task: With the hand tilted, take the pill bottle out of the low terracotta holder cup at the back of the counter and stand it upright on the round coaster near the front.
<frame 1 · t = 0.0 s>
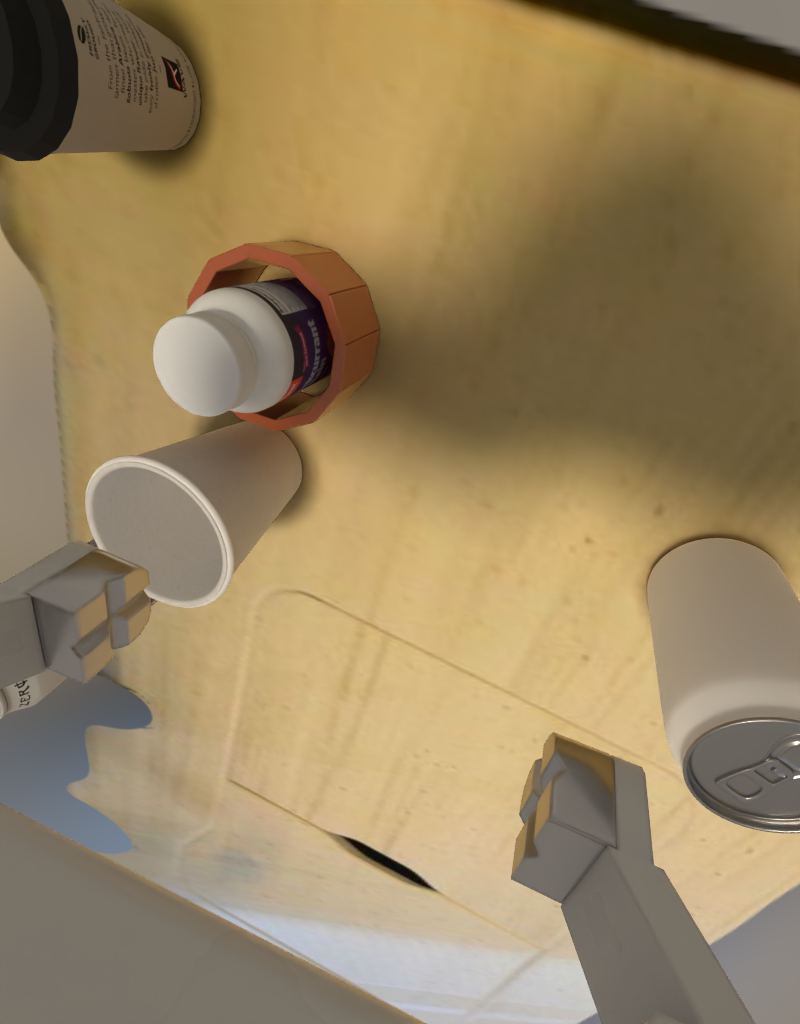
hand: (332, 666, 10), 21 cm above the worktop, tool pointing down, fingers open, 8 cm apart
pill bottle: (307, 328, 30), resting in holder cup
energy drink can: (162, 544, 41), on the worktop
dixie cup: (264, 461, 35), on the worktop
coffee cup: (163, 95, 27), on the worktop
can: (711, 584, 29), on the worktop
holder cup: (306, 329, 30), on the worktop
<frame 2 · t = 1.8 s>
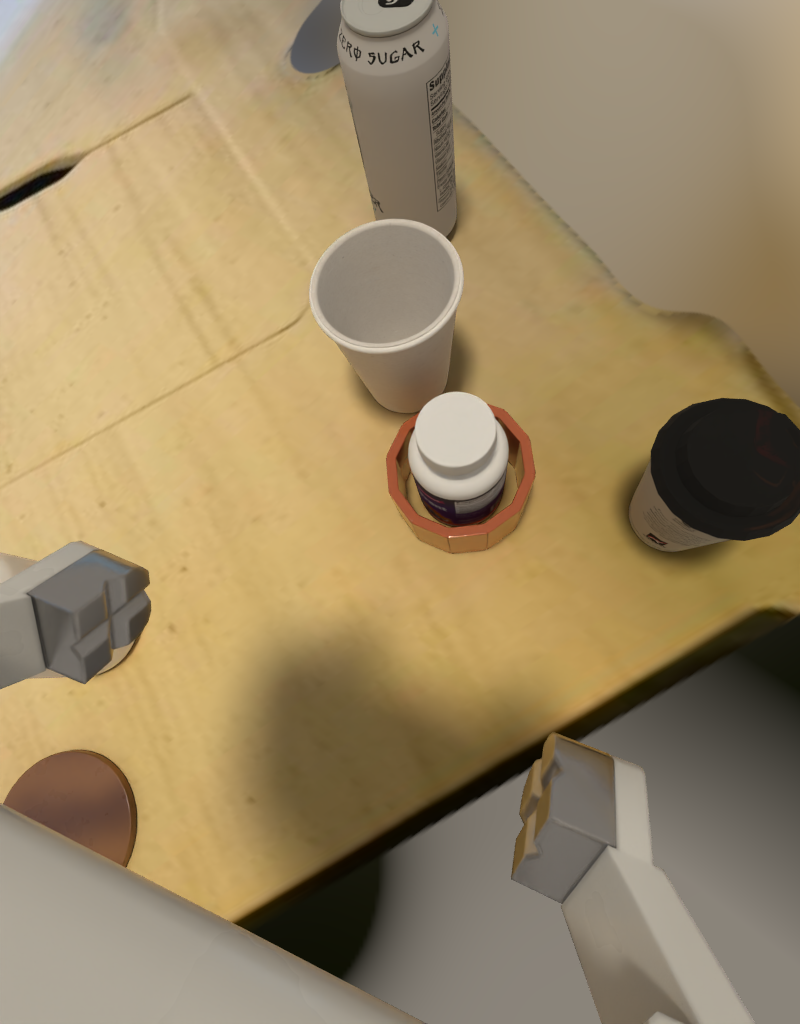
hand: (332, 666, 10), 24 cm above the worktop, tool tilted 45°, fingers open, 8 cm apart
coaster: (68, 829, 33), on the worktop
pill bottle: (461, 490, 36), resting in holder cup
energy drink can: (418, 228, 42), on the worktop
dixie cup: (408, 378, 38), on the worktop
coffee cup: (666, 516, 33), on the worktop
can: (100, 626, 36), on the worktop
holder cup: (461, 489, 35), on the worktop
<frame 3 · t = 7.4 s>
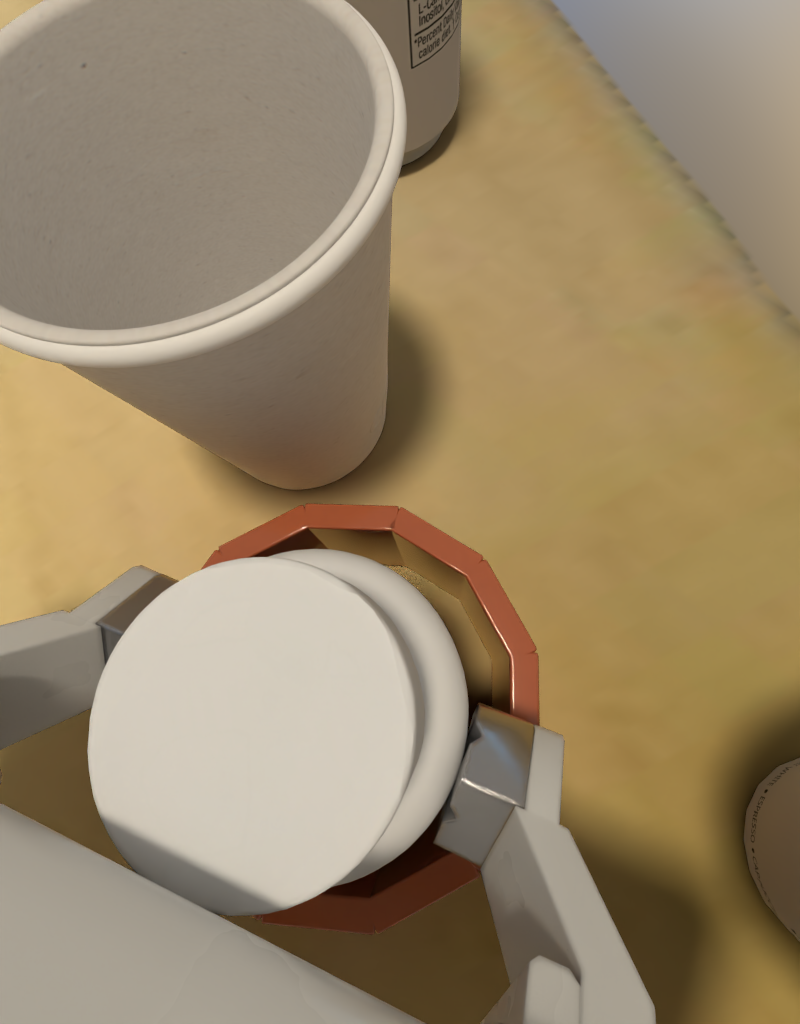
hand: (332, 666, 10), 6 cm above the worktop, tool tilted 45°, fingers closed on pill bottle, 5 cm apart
pill bottle: (366, 687, 16), resting in holder cup, touching gripper
energy drink can: (383, 126, 22), on the worktop
dixie cup: (304, 412, 18), on the worktop
holder cup: (365, 687, 16), on the worktop
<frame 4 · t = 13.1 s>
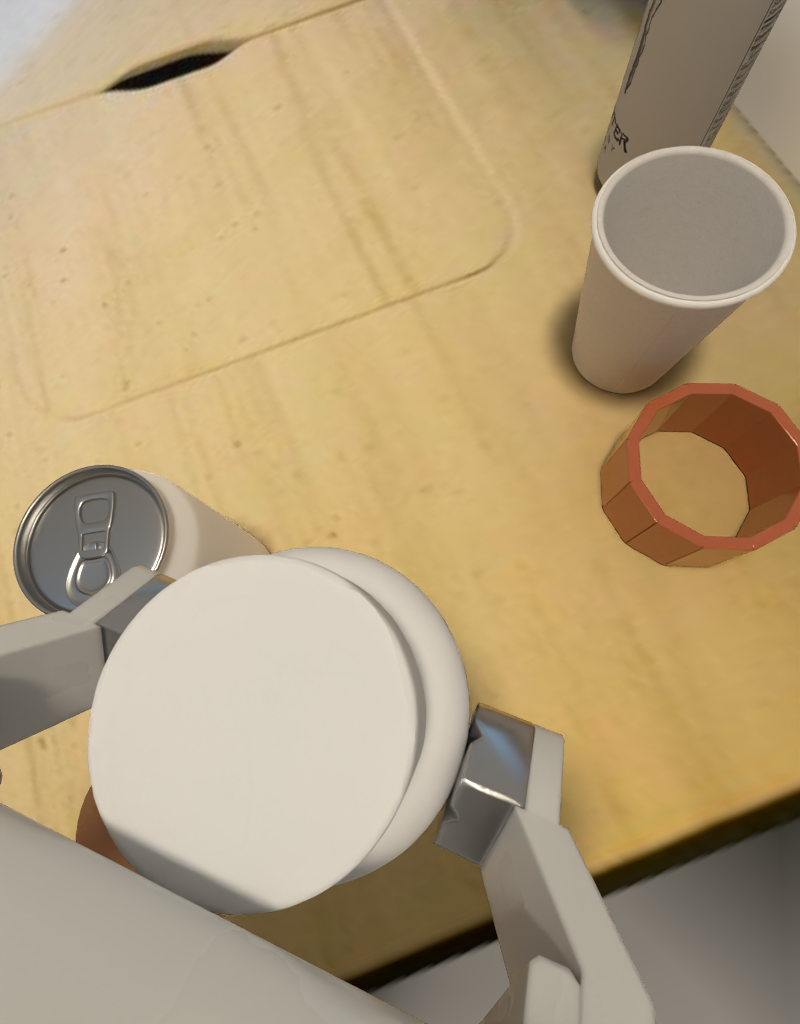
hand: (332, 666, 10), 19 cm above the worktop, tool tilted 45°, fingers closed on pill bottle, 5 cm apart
coaster: (168, 826, 27), on the worktop
pill bottle: (366, 686, 16), point 13 cm above the worktop, touching gripper
energy drink can: (638, 184, 36), on the worktop
dixie cup: (618, 352, 33), on the worktop
can: (224, 587, 31), on the worktop
holder cup: (679, 491, 30), on the worktop
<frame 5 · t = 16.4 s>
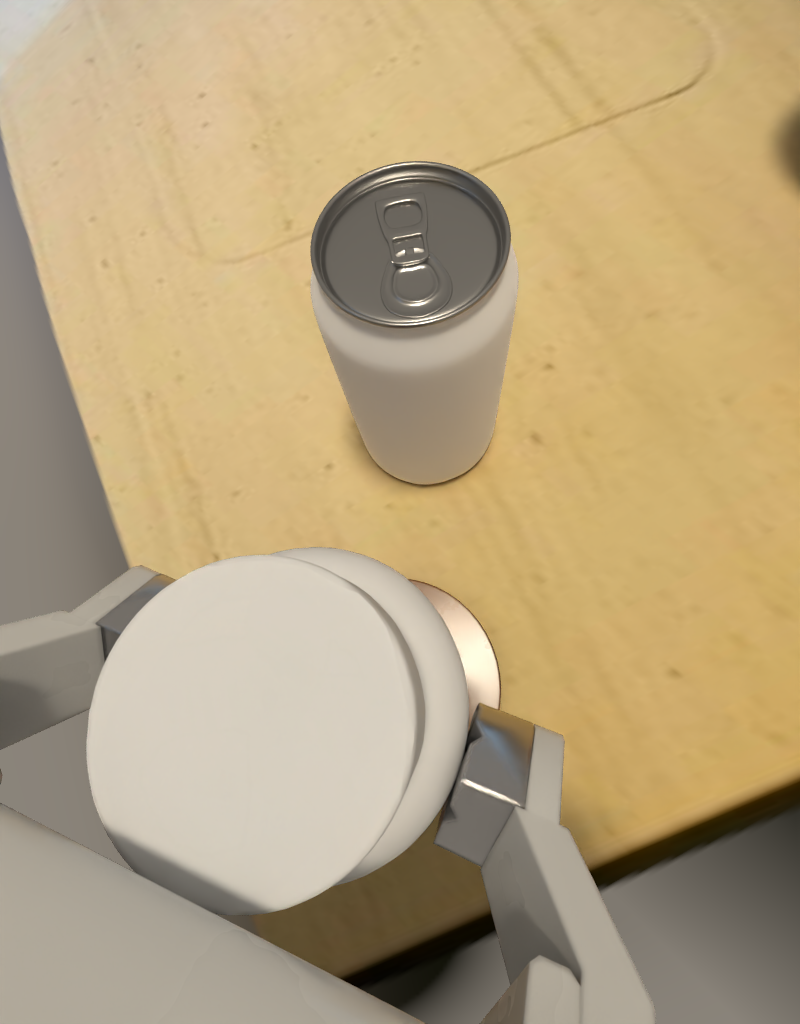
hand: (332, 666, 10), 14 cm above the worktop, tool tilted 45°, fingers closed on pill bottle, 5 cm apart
coaster: (394, 683, 23), on the worktop
pill bottle: (366, 686, 16), point 8 cm above the worktop, touching gripper
can: (427, 427, 27), on the worktop
when the fingers open (6 cm above the worktop, at t = 19.0 s): pill bottle stays where it is, resting on coaster.
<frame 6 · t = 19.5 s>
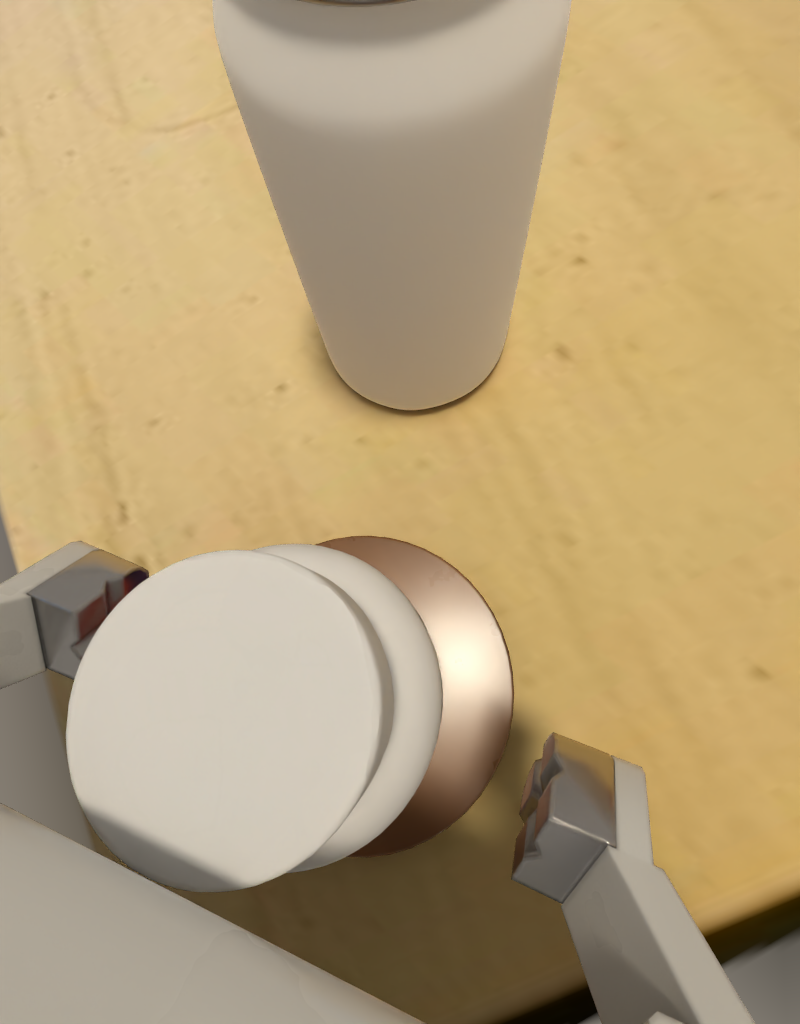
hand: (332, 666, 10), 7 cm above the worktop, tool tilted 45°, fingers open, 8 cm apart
coaster: (362, 683, 16), on the worktop
pill bottle: (350, 681, 16), resting on coaster
can: (415, 337, 20), on the worktop
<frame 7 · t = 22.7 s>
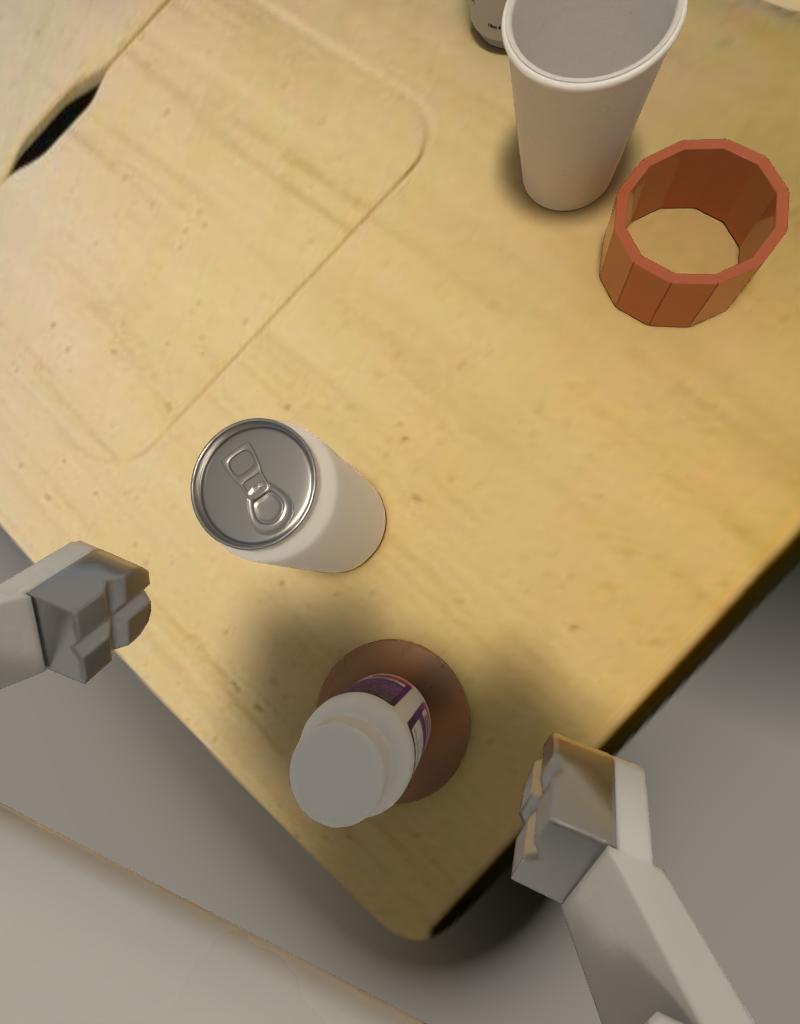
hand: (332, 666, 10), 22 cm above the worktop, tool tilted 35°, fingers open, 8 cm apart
coaster: (392, 717, 32), on the worktop
pill bottle: (386, 720, 31), resting on coaster
energy drink can: (513, 20, 38), on the worktop
dixie cup: (566, 173, 35), on the worktop
can: (338, 522, 34), on the worktop
holder cup: (673, 261, 33), on the worktop
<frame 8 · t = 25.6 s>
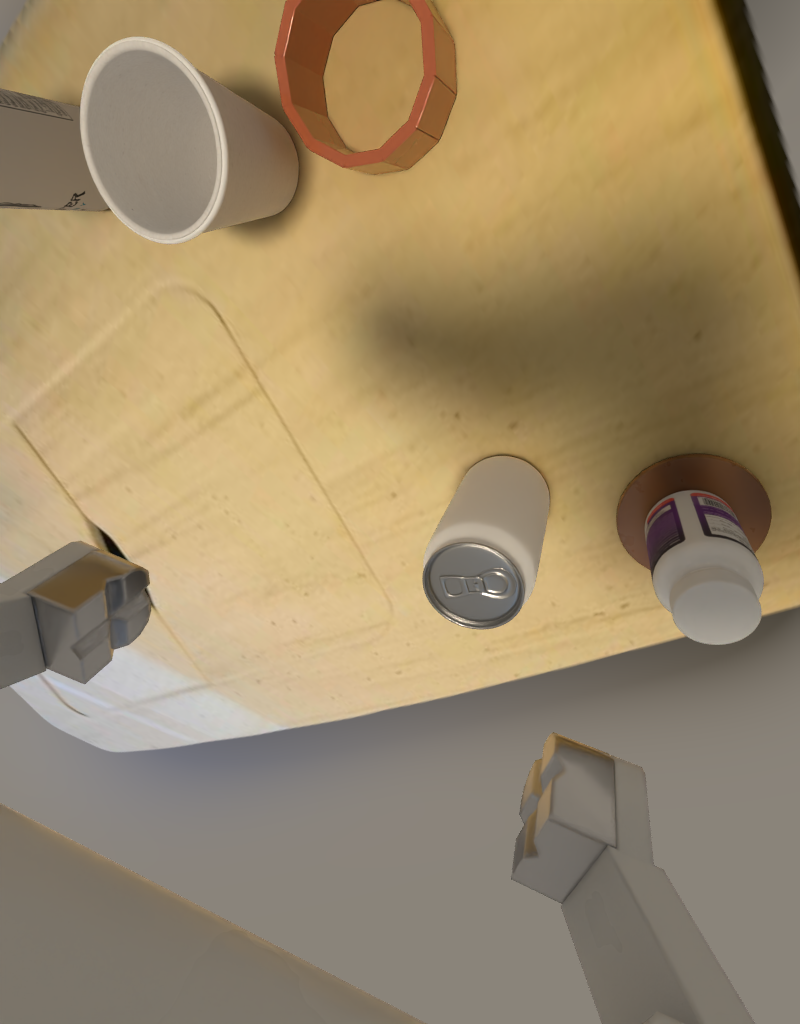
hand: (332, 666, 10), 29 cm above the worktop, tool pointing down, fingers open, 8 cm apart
coaster: (689, 517, 36), on the worktop
pill bottle: (688, 523, 36), resting on coaster
energy drink can: (99, 162, 38), on the worktop
dixie cup: (260, 167, 35), on the worktop
can: (505, 493, 39), on the worktop
holder cup: (382, 85, 30), on the worktop
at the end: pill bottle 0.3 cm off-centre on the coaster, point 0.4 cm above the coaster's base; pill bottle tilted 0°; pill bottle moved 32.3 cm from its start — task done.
